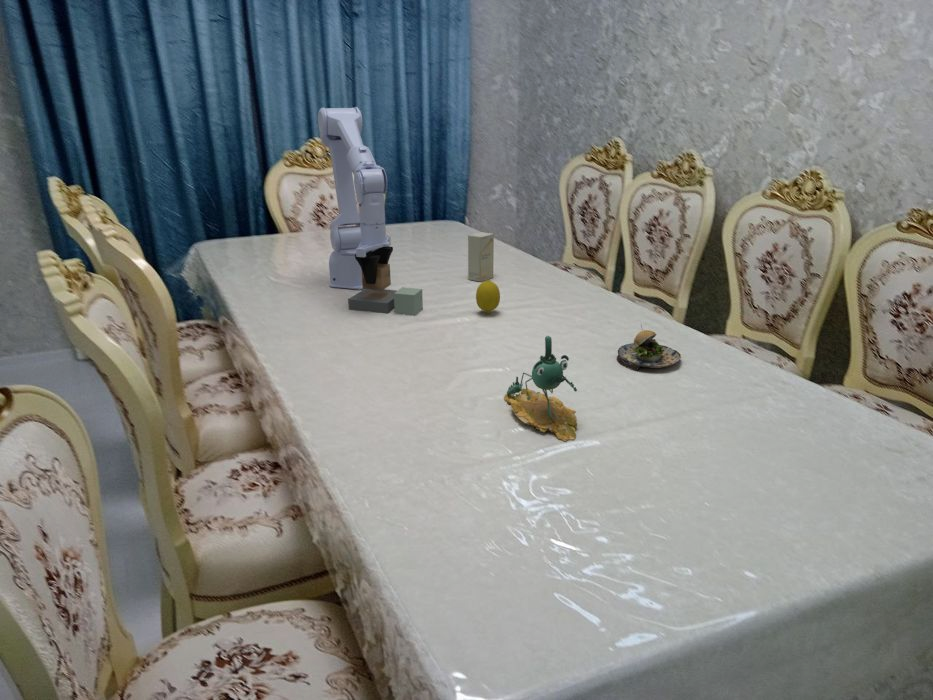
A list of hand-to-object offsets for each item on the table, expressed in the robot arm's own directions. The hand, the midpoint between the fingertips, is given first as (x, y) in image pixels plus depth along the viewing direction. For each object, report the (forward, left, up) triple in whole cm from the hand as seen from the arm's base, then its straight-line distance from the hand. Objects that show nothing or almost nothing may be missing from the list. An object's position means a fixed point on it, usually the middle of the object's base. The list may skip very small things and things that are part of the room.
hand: (375, 280), depth 156 cm
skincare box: (+17, +30, -6) cm, 35 cm away
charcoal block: (0, 0, -7) cm, 7 cm away
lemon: (+27, +2, -6) cm, 28 cm away
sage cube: (+9, -2, -6) cm, 11 cm away
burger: (+64, -16, -7) cm, 66 cm away
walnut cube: (0, 0, -2) cm, 2 cm away
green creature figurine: (+49, -44, -6) cm, 67 cm away
